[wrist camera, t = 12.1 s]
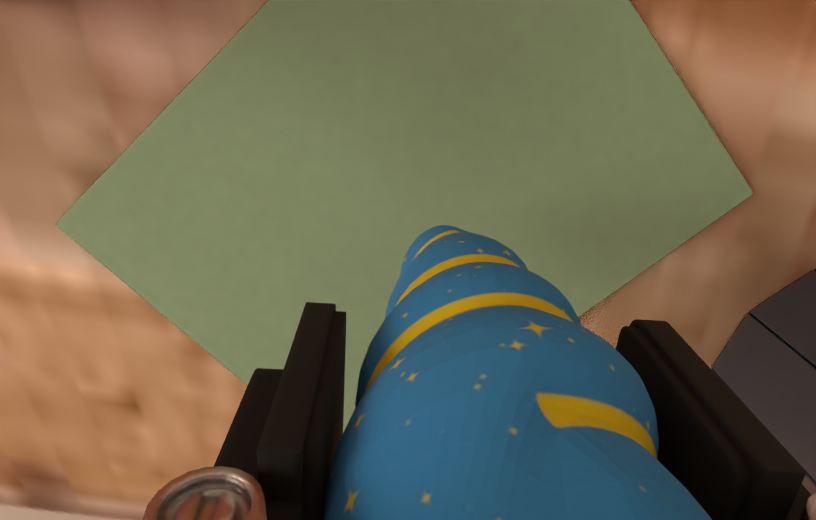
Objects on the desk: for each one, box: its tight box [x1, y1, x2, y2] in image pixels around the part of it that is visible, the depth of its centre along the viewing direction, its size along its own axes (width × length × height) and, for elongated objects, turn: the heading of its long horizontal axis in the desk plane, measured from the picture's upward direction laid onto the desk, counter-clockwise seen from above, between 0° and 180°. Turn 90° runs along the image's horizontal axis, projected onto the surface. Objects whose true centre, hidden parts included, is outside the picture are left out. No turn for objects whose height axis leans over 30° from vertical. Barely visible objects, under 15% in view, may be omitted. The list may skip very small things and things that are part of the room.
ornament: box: [322, 225, 712, 520], centre depth 11 cm, size 5×5×15 cm
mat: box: [55, 0, 754, 433], centre depth 20 cm, size 20×16×1 cm
